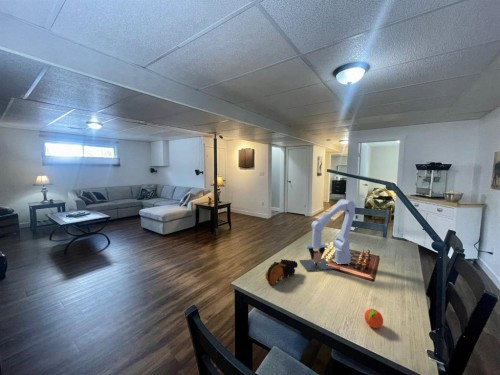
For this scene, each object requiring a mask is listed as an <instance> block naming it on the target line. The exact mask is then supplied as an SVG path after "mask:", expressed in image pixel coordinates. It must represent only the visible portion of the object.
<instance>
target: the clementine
mask: <svg viewBox="0 0 500 375" xmlns="http://www.w3.org/2000/svg"><path fill="white" fill-rule="evenodd" d="M364 321H365V322H366V324H367V325H368V326H369V327H371V328H373V329H379V328H381V327H382V326H383V324H384V317H383V315H382V314H381V312H379V311H378V310H377V309H374V308H369V309H367V310H365V312H364Z"/></svg>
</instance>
